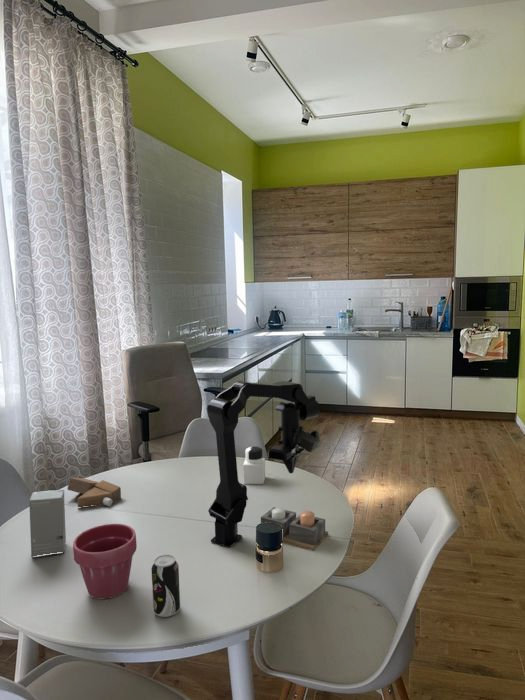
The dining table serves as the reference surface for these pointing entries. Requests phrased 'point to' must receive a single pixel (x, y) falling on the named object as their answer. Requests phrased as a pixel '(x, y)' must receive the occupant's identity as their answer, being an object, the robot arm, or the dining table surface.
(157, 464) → the dining table surface
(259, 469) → the medicine bottle
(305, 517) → the terracotta plunger
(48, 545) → the skincare box
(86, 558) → the plant pot
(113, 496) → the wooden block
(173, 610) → the beverage can
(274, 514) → the white short rounded cylinder
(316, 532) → the double box holder
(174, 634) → the dining table surface
